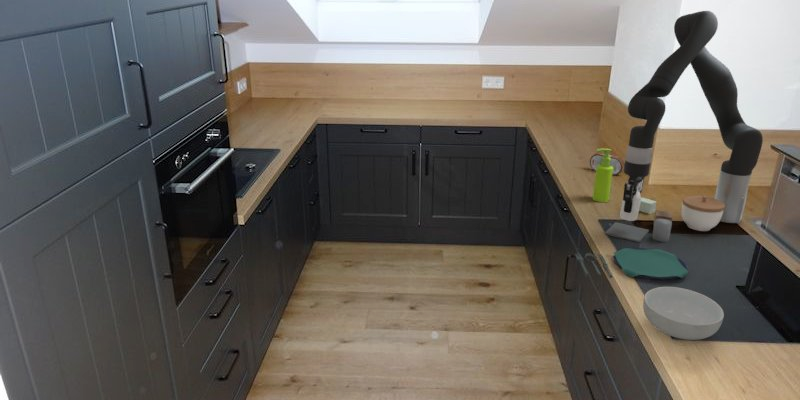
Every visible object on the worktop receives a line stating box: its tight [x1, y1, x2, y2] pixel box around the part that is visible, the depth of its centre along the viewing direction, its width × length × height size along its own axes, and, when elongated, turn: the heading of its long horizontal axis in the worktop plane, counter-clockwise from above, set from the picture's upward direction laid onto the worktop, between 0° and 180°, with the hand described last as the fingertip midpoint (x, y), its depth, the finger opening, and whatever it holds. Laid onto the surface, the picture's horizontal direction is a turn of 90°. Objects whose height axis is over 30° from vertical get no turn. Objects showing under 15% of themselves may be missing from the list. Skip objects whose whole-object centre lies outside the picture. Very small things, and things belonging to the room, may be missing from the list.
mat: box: [604, 221, 650, 243], centre depth 189 cm, size 11×11×1 cm
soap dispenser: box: [592, 147, 613, 203], centre depth 215 cm, size 6×7×20 cm
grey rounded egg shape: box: [651, 219, 673, 243], centre depth 184 cm, size 5×5×6 cm
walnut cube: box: [653, 209, 673, 224], centre depth 193 cm, size 5×5×5 cm
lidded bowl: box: [681, 195, 725, 232], centre depth 192 cm, size 13×13×11 cm
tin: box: [589, 151, 625, 176], centre depth 248 cm, size 15×3×8 cm, turn 47°
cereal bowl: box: [642, 286, 725, 341], centre depth 134 cm, size 17×17×7 cm
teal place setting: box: [575, 247, 688, 280], centre depth 166 cm, size 20×30×2 cm, turn 84°
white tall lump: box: [619, 191, 642, 222], centre depth 185 cm, size 6×12×6 cm
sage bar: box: [639, 196, 658, 215], centre depth 208 cm, size 8×4×4 cm, turn 40°
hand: (630, 209), depth 186 cm, fingers closed on white tall lump, 6 cm apart
